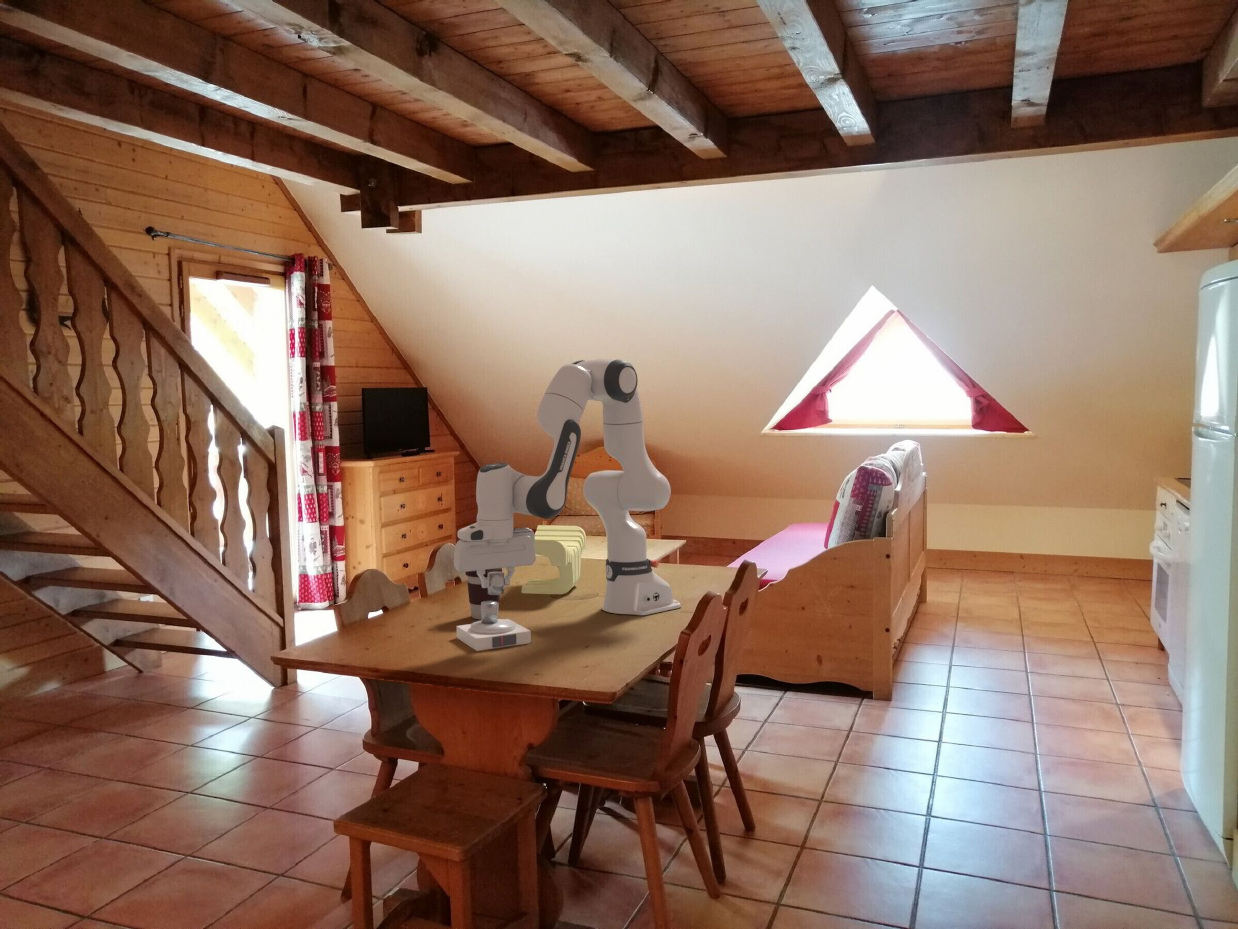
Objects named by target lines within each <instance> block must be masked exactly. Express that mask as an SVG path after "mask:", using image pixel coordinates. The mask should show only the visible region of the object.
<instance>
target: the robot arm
mask: <svg viewBox="0 0 1238 929" xmlns="http://www.w3.org/2000/svg"><path fill="white" fill-rule="evenodd" d="M637 387H638V374H637V371H636V369H635V367H634V366H633V365H632V364H631V363H630V362H628V361H626V360H622V359H610V358H609V359H608V358H596V359H589V360H588V359H587V360H584V359H582V360H581V359H580V360H577V361H574V362H572V363H566V364H564V365H561V367H560V368H559V369H558V371H557V372H556V373H555V375H554V376H553V378H552V379H551V381H550V382H549V385H548V386H547V388H546V390H545V392H544V394H543V395H542V398H541V400H540V402H539V405H538V408H537V412H536V419H537V423H538V424H539V426H540V429H542V430H543V431H544V432H545V433H546V434H547V435H548V436H549V437H551V438H552V439H553V448H552V451H551V454H550V457H549V461H548V464H547V467H546V470H545V472H544V473H543V474H541V475H539V476H536V475H529V474H524V473H522V472H519V471H518V470H515V469H514V468H513V467H511V466H510V464H509V463H508V462H507V463H506V462H493V463H490V464H488V463H487V464H486V465H483V466H482V467H480V469H479V470H478V472H477V476H476V490H475V498H476V500H475V501H476V504H477V515H476V522H475V523H471V524H470V525H468V526H465V527H462V528H460V529H458V531H457V532H456V533H457V538H458V539H459V540H457V542H456V544H455V546H454V553H453V554H454V555H453V565H454V566H453V567H454V569H456V570H457V571H458V572H460V573H465V572H467V571H477V575H478V576H479V578H480V579H481V586H482V588H489V587H490V585H489V584H490V581H489V580H487V579H485V577H484V575H483V574H485V570H487V569H497V568H502V569H505V570H506V571H507V572H506V574H505V575H504V587H507V586H511V579H512V576H513V575H514V573H515V572H516V570H515V567H525V566H533V565H534V564H535V563H536V561H537V559H536V558H537V557H536V556H537V555H535V547H534V541H535V532H534V531H533V529H530V528H529V527H523V528H522V527H521V528H517V527H516V528H514V513H516V514H522V515H529V516H533V517H537V518H541V519H544V520H550V519H553V518H555V517H557V516H558V515H559V514H560V513H561V512H562V510H563V509H564V507H565V505H566V501H567V495H568V494H567V493H568V486H569V483H570V478H571V474H572V472H573V471H572V470H573V467H574V463H575V462H576V461H575V460H576V457H577V454H578V450H579V446H580V442H581V439H582V438H581V437H582V429H581V426H580V423H581V418H582V415H583V414H584V411H585V408H586V407H587V404H588V400H589V401H595V402H600V401H601V403H602V426H603V427H602V428H603V429H602V430H603V447H604V449H605V451H606V453H607V455H608V456H610V457H611V458H613V459H615V460H616V461H617V462H618V464H620V466H621V468H622V470H611V469H610V470H609V469H607V470H599V471H595V472H591V473H589V475H588V476H587V477H586V478H585V481H584V482H583V488H582V489H583V490H582V491H583V492H582V493H583V496H584V499H585V501H586V502H587V504H588V505H589V506H590V507H592V508H593V509H594V510H595V512H596V514H598V517H599V518H600V519H601V522H602V524H603V527H604V530H605V536H606V537H605V538H606V551H607V553H606V554H607V557H606V559H605V579H606V585H605V594H604V599H603V603H602V607H601V609H602V610H603V611H604V612H607V613H612V614H619V615H634V616H635V615H636V616H647V615H651V614H656V613H661V612H666V611H670V610H674V609H679V608H682V607H681V603H680V601H678V599H677V600H676V599H674V598H673V597H674V596H673V591H672V587H671V586H670V584H669V583H668V582H667V581H666V580H664V579H663V578H662V577H660V576H659V575H658V574H656V573H655V572H654V571H653V568H656V569H657V568H659V566H660V562H659V561H658V560H655V559H652V560H651V559H649V558H647V556H648V554H647V533H646V531H645V528H643V527H642V526H641V525H640V524H639V523H637V522H635V521H634V519H633V518H632V517H631V515H630V512H629V511H635V512H636V511H637V512H651V511H657V510H662V509H664V508H665V507H666V505H668V503H669V502H670V498H671V494H672V493H671V492H672V490H671V489H672V488H671V483H670V482H669V480H668V479H667V477H666V476H665V475H664V474H663V473H661V472H660V471H659V470H658V469H657V468H656V466H655V465H654V464H653V462H652V461H651V458H650V457H649V455H648V452H647V449H646V443H645V432H644V421H643V420H644V418H643V416H644V415H643V409H642V408H643V407H642V402H641V397H640V393H639V389H638V388H637Z"/></svg>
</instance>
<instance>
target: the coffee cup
mask: <svg viewBox="0 0 1238 929" xmlns="http://www.w3.org/2000/svg"><path fill="white" fill-rule="evenodd" d="M489 572H503V568H497V569H487V570H485V574H483V575H484V577H485V579H487V580H488V573H489ZM464 573H465V576H467V592H468V601H469V604H470V605H469V606H470V615H471V618H472V619H474V620H479V621H481V602H484V601H496V602H497V617H499V604H500V603H499V602H500V599H501V598H500V597H501V595H489V594H488V588H482V586H481V579H480V578H479V576H478V575H477V571H467V572H464Z"/></svg>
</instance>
